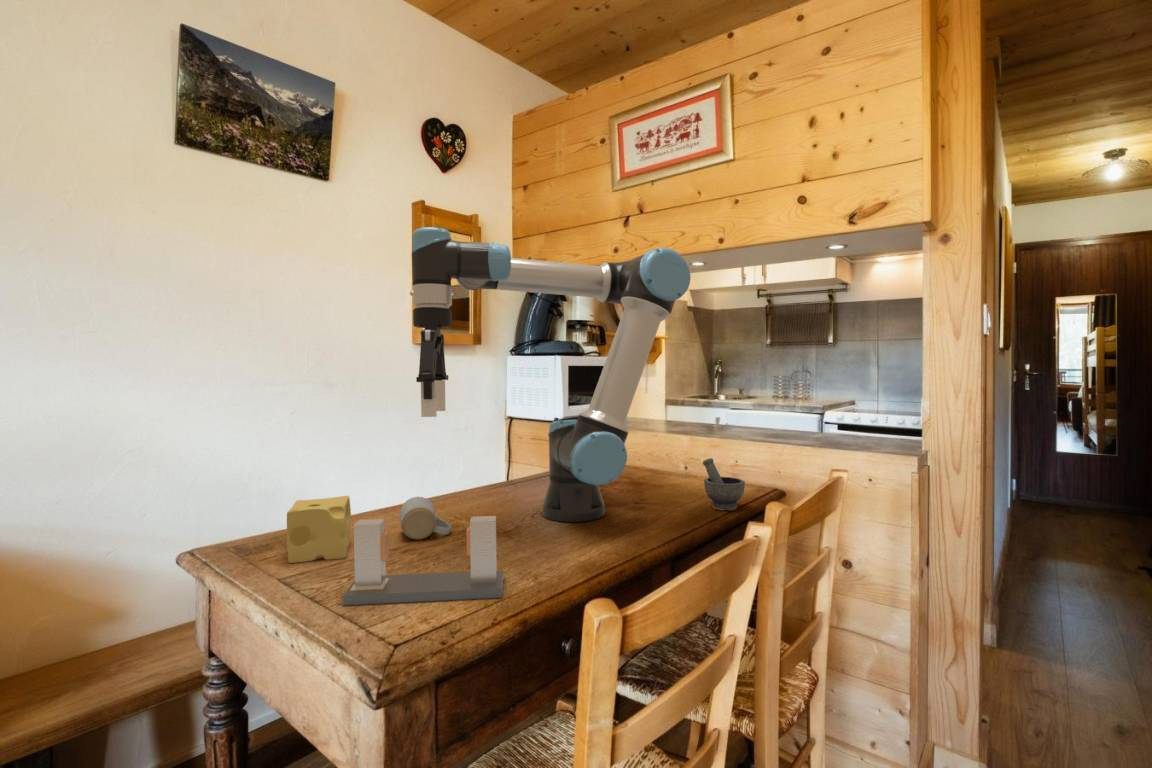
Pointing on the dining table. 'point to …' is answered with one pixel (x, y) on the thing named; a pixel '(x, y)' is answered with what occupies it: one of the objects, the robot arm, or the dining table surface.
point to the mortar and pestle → (722, 488)
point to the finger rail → (443, 576)
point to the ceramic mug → (421, 519)
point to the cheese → (318, 529)
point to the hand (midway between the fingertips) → (434, 413)
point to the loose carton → (370, 553)
